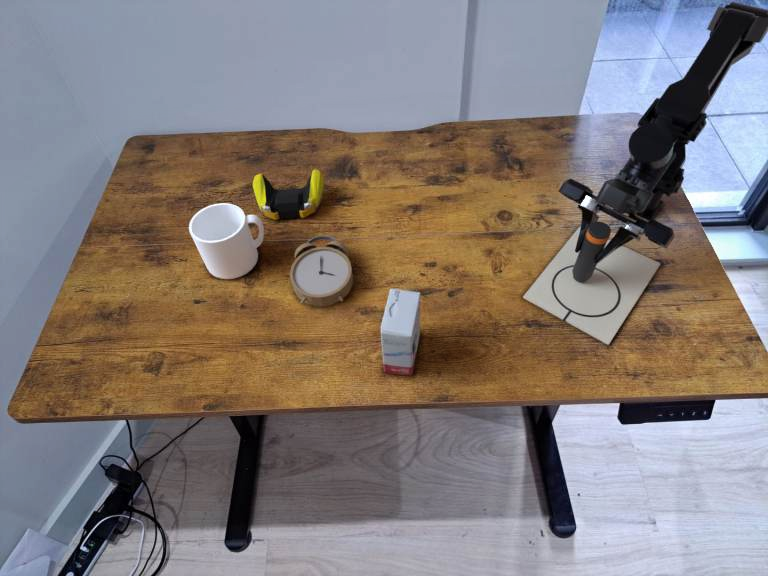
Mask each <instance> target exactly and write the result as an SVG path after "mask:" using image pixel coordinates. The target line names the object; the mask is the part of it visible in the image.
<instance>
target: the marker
mask: <svg viewBox="0 0 768 576" xmlns="http://www.w3.org/2000/svg"><path fill="white" fill-rule="evenodd" d="M611 233H612V228H611V227H610V225H609V224H607V223H606V222H603V221H597V222H593V223H591V224H590V226H589V228H588V230H587V232H586V236H585V239H584V241H583V244H582V246H581V249H580V252H579V254H578V257H577V259H576V262H575V265H574V267H573V270H572V273H573V278H574V280H576V281H577V282H580V283H583V282H586V281H587V280H588V279H590V278H591V277H592V274H593V272H594V270H595V268H596V265H597V264H596V263H594V262H595V260H596V259H597V257H598V255H599V254H600V253H601V252H602V250H603V249H604V247H605V245H606V242H607V241H608V239H609V240H610V236H611Z"/></svg>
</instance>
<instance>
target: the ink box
mask: <svg viewBox="0 0 768 576" xmlns="http://www.w3.org/2000/svg"><path fill="white" fill-rule="evenodd" d="M420 336H421V292H420V291H415V290H406V289H400V288H390V290H389V291H388V295H387V300H386V305H385V307H384V313H383V316H382V320H381V324H380V339H381V340H380V341H381V342H380V343H381V351H382V352H381V353H382V363H383V365H382V366H383V372H384V373H387V374H394V375H399V376H400V375H401V376H409V377H411V376H413V372H414V368H415V362H416V358H417V352H418V346H419V341H420Z"/></svg>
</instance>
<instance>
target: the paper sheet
mask: <svg viewBox="0 0 768 576" xmlns="http://www.w3.org/2000/svg"><path fill="white" fill-rule="evenodd" d="M580 229H581V225H580V226H579V227H578V228H577V229H576V230H575V231H574V233H573V234H572V235H571V236H570V238H569V239H568V240H567V241H566V243H565V244H564V245H563V246H562V247H561V249H560V250H559V252H557V254H556V255H555V256H554V257H553V259H552V260H551V261H550V263H548V265H547V266H546V267H545V269H543V271H542V273H541V274H540V275H539V276H538V278H536V280H535V281H534V282H533V283H532V285H531V286H530V287H529V288H528V290H527V291H526V292H525V293H524V295H523V296H522V299H524V300H526V301H528V302H530V303H531V304H533V305H535V306H536V307H539V308H540V309H542V310H544V311H545V312H547V313H549V314H551V315H553V316H555V317H556V318H557V319H560V320H562V321H563V322H565V323H567V324H569V325H570V326H573V327H574V328H576V329H578V330H580V331H582V332H583V333H585V334H586V335H589V336H591V337H593V338H594V339H596V340H598V341H600V342H601V343H603V344H605V345H607V346H609V345H610V343H612V341H613V339H614V338H615V336H616V335H617V333H618V331H619V330H620V328H621V327H622V325H623V324H624V322H625V321H626V319H627V317H628V316H629V314H630V312H631V311H632V310H633V307H634V306H635V305H636V303H637V301H638V300H639V299H640V297H641V296H642V294H643V292H644V291H645V289H646V287H647V286H648V284H649V283H650V282H651V280H652V278H653V277H654V275H655V274H656V272H657V271H658V269H659V267H660V266H661V262H659V261H656V260H654V259H652V258H650V257H648V256H646V255H643V254H641V253H639V252H637V251H635V250H633V249H630V248H628V247H626V246H624V245H622V246H621V247H619V248H618V249H616V250H615V251H614V252H612V253H611V254H610V255H608V256H607V257H606V258H604V259H603V260H602V261H600V262H599V263H598V264H597V265H596V268H595V270H594V272H593V274H592V277H591V278H590V279H588V280H587V281H586V282H583V283H580V282H577V281H576V280H574V278H573V273H572V270H573V267H574V265H575V262H576V259H577V257H578V254H579V252H580V251H579V252H578V253H576V252H575V248H576V244H577V240H578V237H579V233H580ZM611 240H612V239H610V238H609V239H608V241H607V242H606V245H605V247H606V246H607V244H608V243H609V242H610V241H611ZM605 247H604V248H605Z"/></svg>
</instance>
